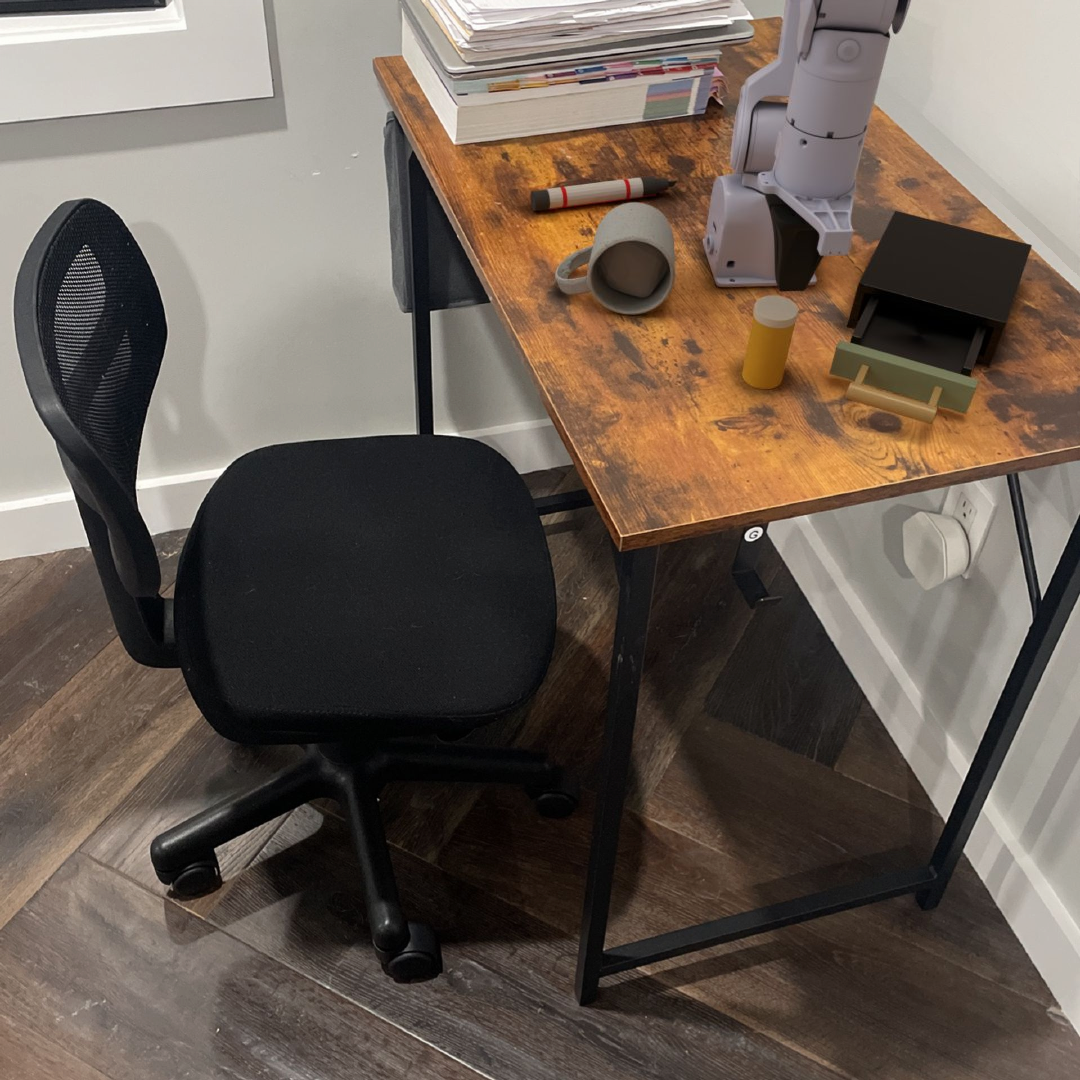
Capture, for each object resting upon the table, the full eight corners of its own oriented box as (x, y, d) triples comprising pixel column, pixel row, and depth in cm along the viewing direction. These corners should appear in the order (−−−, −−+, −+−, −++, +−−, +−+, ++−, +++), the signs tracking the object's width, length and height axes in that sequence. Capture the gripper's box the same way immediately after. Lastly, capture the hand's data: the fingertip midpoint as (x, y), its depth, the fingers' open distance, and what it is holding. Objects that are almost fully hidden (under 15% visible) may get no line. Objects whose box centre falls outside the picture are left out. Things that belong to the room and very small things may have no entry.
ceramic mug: (670, 267, 107) (678, 193, 102) (670, 318, 102) (679, 242, 96) (558, 262, 108) (560, 187, 102) (552, 312, 102) (553, 236, 97)
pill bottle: (732, 372, 97) (745, 303, 91) (763, 359, 98) (777, 290, 93) (760, 395, 95) (775, 325, 90) (791, 380, 96) (807, 311, 91)
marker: (535, 215, 113) (535, 196, 112) (529, 205, 114) (530, 186, 113) (678, 196, 116) (681, 178, 115) (671, 187, 118) (674, 169, 116)
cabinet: (989, 367, 98) (1006, 322, 95) (846, 326, 102) (858, 282, 98) (1015, 287, 107) (1032, 244, 103) (883, 252, 110) (895, 210, 107)
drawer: (955, 445, 89) (966, 418, 87) (814, 402, 93) (822, 375, 91) (993, 333, 100) (1003, 306, 98) (866, 298, 103) (873, 271, 101)
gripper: (749, 74, 84) (722, 237, 94) (794, 172, 74) (759, 343, 84) (842, 73, 84) (806, 235, 94) (900, 170, 74) (853, 340, 84)
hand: (790, 286), depth 89 cm, fingers closed
